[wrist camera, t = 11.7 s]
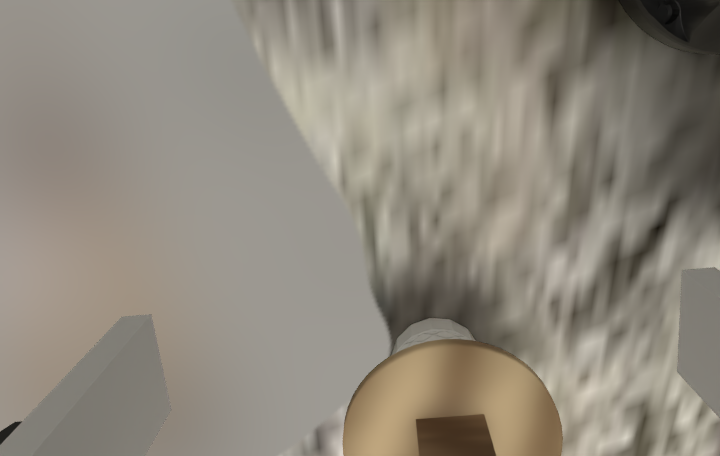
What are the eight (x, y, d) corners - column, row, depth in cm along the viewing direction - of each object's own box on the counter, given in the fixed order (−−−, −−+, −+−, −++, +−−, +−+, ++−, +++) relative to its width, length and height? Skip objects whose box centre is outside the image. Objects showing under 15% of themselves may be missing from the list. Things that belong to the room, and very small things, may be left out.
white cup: (466, 413, 49) (488, 504, 39) (370, 386, 48) (369, 471, 39) (502, 326, 46) (534, 399, 37) (402, 297, 46) (408, 363, 36)
